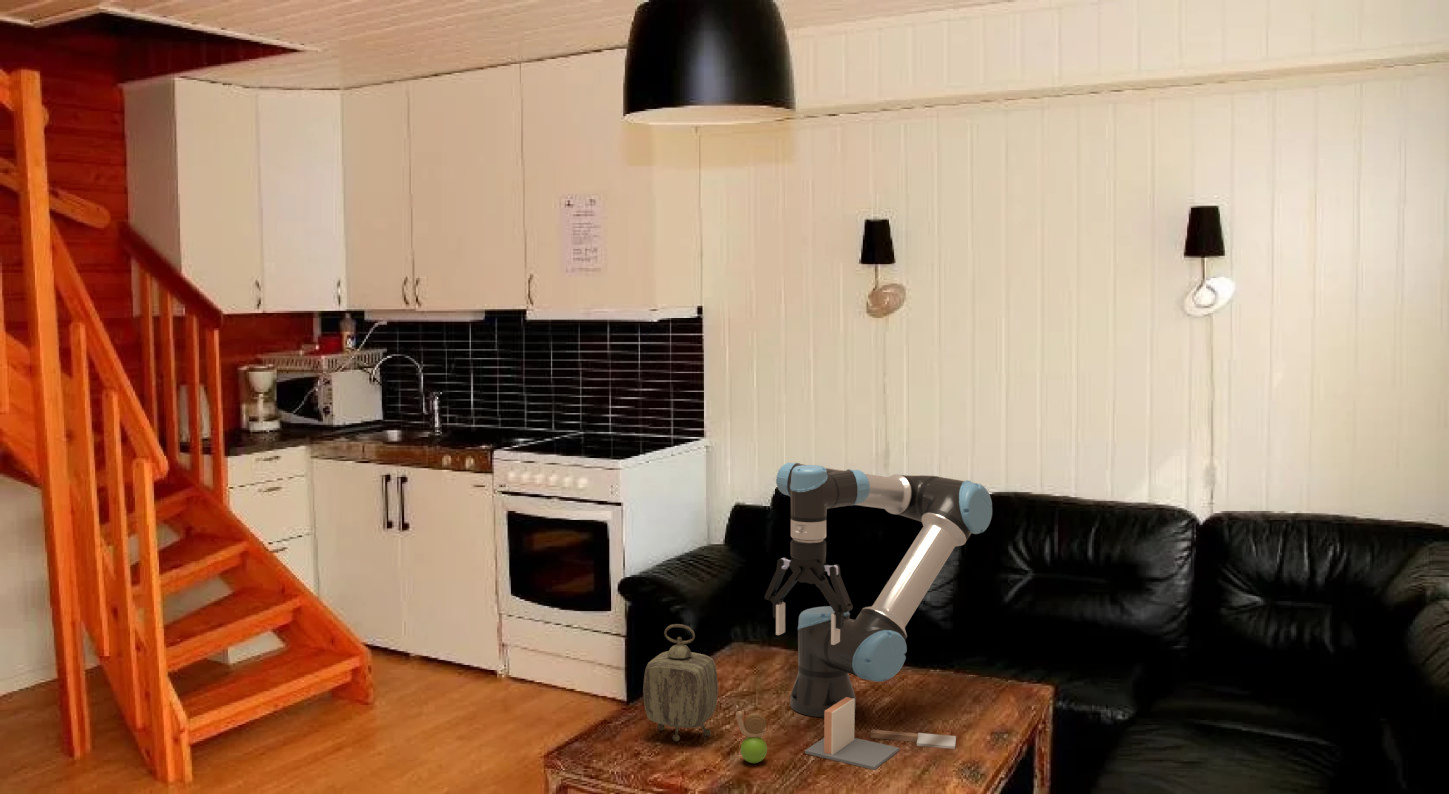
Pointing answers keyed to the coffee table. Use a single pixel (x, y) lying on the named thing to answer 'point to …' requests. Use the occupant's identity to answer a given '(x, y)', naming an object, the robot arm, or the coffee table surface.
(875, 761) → the mat
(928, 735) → the turner
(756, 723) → the snail figurine
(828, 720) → the tile
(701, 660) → the tabletop clock
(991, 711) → the coffee table surface
